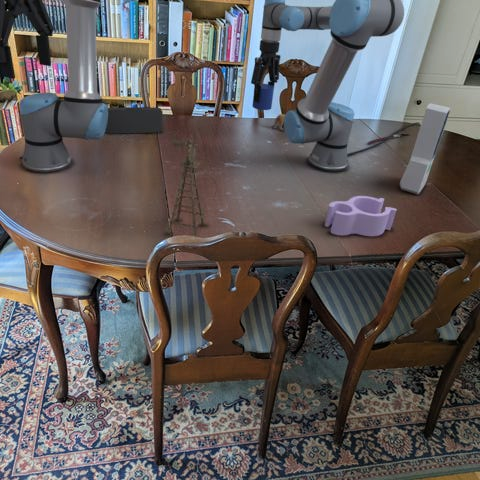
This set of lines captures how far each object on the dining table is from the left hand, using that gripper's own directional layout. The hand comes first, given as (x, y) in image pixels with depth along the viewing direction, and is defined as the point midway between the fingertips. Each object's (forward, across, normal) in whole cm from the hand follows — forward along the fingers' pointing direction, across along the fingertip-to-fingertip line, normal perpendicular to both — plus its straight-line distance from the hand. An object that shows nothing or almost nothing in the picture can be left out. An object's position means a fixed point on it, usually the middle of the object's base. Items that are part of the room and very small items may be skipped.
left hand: (28, 71), depth 107 cm
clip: (+41, +33, -83) cm, 98 cm away
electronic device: (+41, +70, -102) cm, 130 cm away
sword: (+41, +120, -95) cm, 158 cm away
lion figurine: (+41, +110, -49) cm, 127 cm away
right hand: (+24, +93, -39) cm, 104 cm away
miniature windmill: (+41, +11, -36) cm, 55 cm away
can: (+28, +93, -39) cm, 105 cm away
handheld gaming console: (+41, +74, +9) cm, 85 cm away
